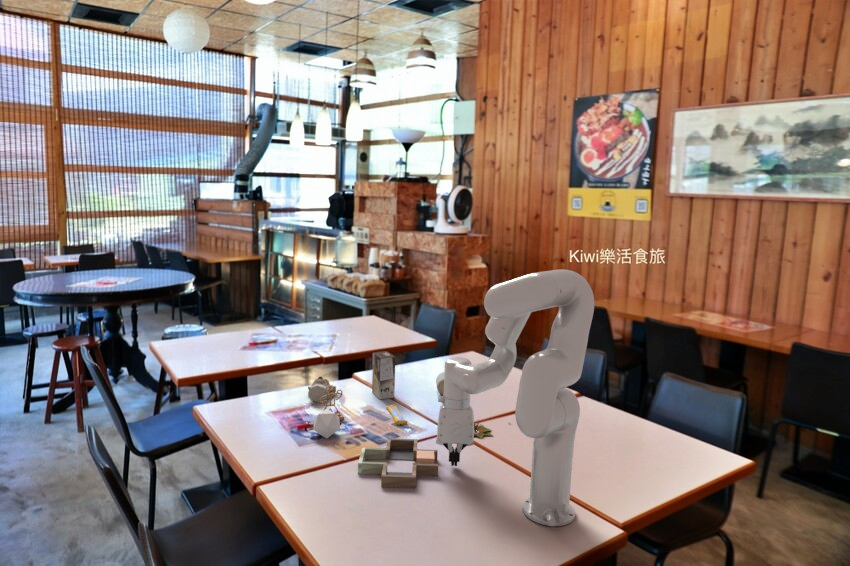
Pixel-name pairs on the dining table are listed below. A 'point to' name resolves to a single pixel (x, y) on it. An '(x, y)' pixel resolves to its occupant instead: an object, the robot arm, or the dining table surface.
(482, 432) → the lily flower
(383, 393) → the coffee box
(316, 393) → the ceramic sculpture
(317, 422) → the die
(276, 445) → the dining table surface
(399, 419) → the candy bar
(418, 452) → the block
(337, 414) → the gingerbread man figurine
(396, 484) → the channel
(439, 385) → the ceramic mug
